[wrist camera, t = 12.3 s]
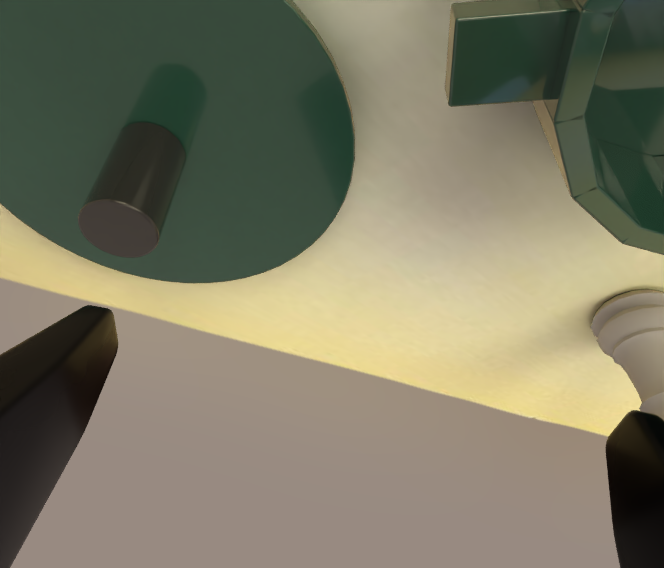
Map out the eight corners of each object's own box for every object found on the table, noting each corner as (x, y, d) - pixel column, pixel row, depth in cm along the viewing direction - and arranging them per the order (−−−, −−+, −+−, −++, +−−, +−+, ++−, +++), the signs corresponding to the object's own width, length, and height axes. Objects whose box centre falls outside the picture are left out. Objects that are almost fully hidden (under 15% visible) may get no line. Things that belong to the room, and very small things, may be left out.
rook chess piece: (630, 343, 31) (686, 480, 26) (570, 323, 30) (616, 463, 25) (697, 299, 28) (777, 444, 23) (633, 275, 27) (702, 423, 21)
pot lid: (364, 260, 26) (365, 355, 23) (64, 274, 28) (20, 365, 24) (337, -129, 15) (332, -63, 11) (-179, -73, 16) (-336, 4, 12)
